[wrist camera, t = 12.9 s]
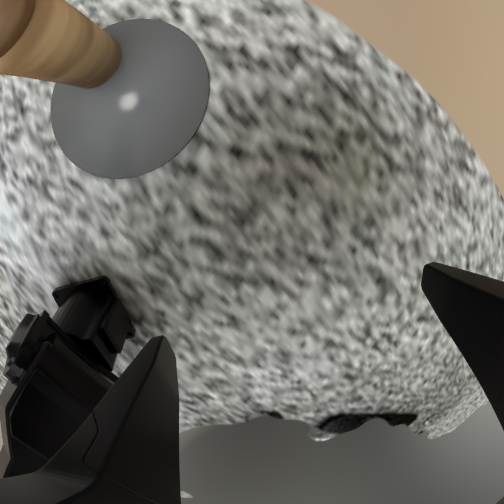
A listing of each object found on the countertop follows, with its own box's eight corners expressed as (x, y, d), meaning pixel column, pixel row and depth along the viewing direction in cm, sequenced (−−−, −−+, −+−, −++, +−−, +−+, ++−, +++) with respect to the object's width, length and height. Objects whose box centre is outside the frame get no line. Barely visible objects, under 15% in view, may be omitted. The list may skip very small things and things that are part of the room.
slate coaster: (74, 198, 18) (72, 200, 17) (44, 61, 13) (42, 60, 12) (225, 151, 18) (225, 151, 18) (192, 2, 13) (191, -1, 13)
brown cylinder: (64, 90, 14) (-49, 81, 4) (77, 38, 12) (-20, -7, 2) (114, 88, 15) (10, 59, 4) (128, 34, 13) (50, -38, 3)
